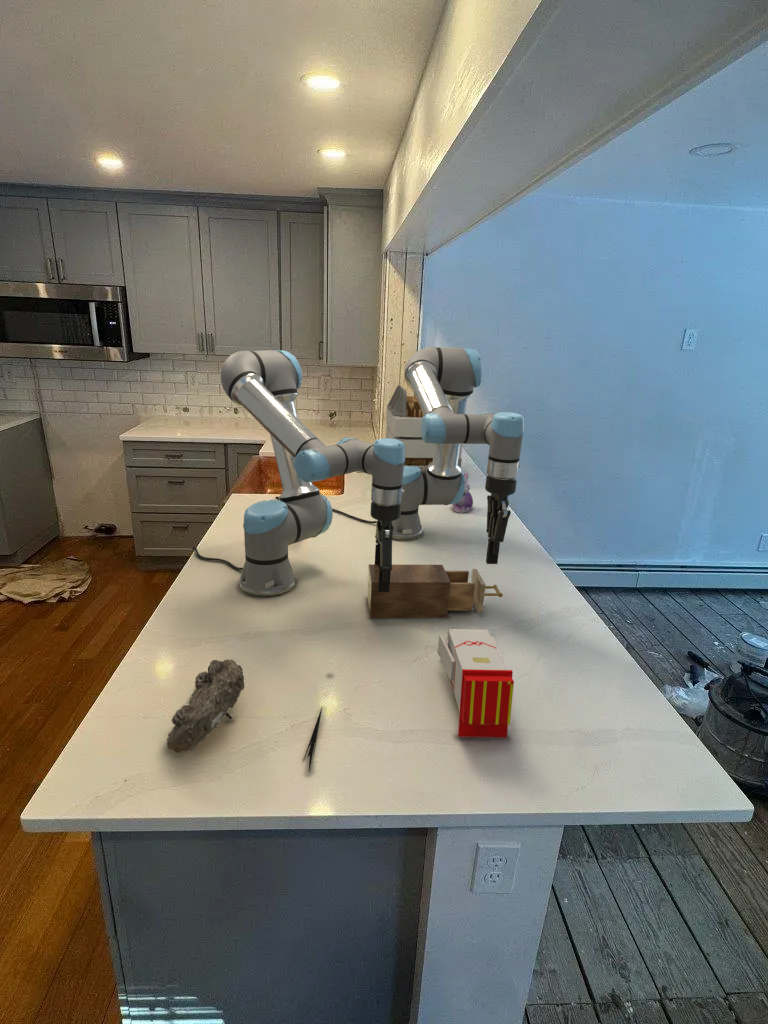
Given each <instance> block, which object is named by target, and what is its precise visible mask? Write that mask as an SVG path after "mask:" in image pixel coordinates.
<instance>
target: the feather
mask: <svg viewBox="0 0 768 1024" xmlns="http://www.w3.org/2000/svg"><path fill="white" fill-rule="evenodd" d="M329 675H330V676H331V675H332V674H331V673H330V674H329ZM322 710H323V707H321V708H320V710H319V713H318V716H317V719H316V723H315V725H314V728H313V731H312V733H311V737H310V739H309V742H308V745H307V748H306V751H305V754H304V757H303V760H302V763H301V767H302V765H303V763H304V761H305V758H308V759H309V760H308V762H307V763H308V764H307V766H308V771H310V770H311V766H312V765H311V764H312V760H313V757H315V756H314V755H315V751H316V749H315V746H317V739H318V733H319V729H320V722H321V717H322V712H323V711H322ZM313 754H314V755H313ZM306 755H307V757H306Z"/></svg>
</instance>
